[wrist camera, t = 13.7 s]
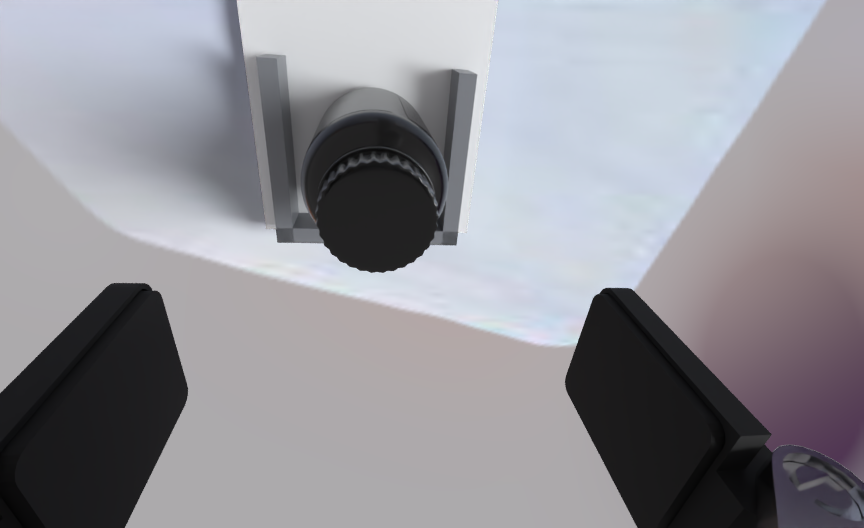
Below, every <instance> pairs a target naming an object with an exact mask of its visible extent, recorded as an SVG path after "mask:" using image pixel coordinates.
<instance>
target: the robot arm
mask: <svg viewBox="0 0 864 528" xmlns="http://www.w3.org/2000/svg"><path fill="white" fill-rule="evenodd" d="M565 385H566V390H567V393H568V395H569V397H570V399H571V401H572V402H573V404H574V406H575V408H576V410H577V412H578V414H579V416H580V418H581V420H582V422H583V424H584V425H585V428H586V429H587V431H588V433H589V435H590V437H591V439H592V441H593V443H594V445H595V447H596V449H597V451H598V453H599V454H600V456H601V458H602V460H603V462H604V464H605V466H606V468H607V470H608V472H609V474H610V476H611V478H612V479H613V481H614V483H615V485H616V487H617V489H618V491H619V493H620V495H621V497H622V499H623V501H624V503H625V504H626V506H627V508H628V510H629V512H630V514H631V516H632V518H633V520H634V522H635V524H636V525H637V527H638V528H864V483H863V482H862V481H861V480H860V479H859V478H858V477H857V476H855V475H854V474H853V473H852V472H851V471H849V470H848V469H846V468H845V467H844V466H842V465H841V464H839V463H838V462H836V461H835V460H833V459H831V458H829V457H827V456H825V455H823V454H821V453H819V452H816V451H814V450H811V449H808V448H805V447H802V446H794V445H784V446H779V447H778V448H777V449H776V450H774V451H773V452H771V451H770V450H769V449H768V448H767V447H766V446H765V445H764V444H765V443H766V441H767V440H768V439H769V438H770V436H771V433H770V432H769V431H768V430H767V429H766V428H765V427H764V426H763V425H762V424H761V423H760V422H759V421H758V420H757V419H756V418H755V417H754V416H753V415H752V414H751V413H750V412H749V411H748V409H747V408H746V407H745V406H744V405H743V404H742V403H741V402H740V401H739V400H738V399H737V398H736V397H735V396H734V395H733V394H732V393H731V392H730V391H729V390H728V389H727V388H726V387H725V386H724V385H723V383H722V382H721V381H720V380H719V379H718V378H717V377H716V376H715V375H714V374H713V373H712V372H711V371H710V370H709V369H708V368H707V367H706V366H705V365H704V364H703V363H702V361H701V360H700V359H699V358H698V357H697V356H696V355H694V353H693V352H692V351H691V350H690V349H689V348H688V347H687V346H686V345H685V344H684V343H683V342H682V341H681V340H680V339H679V338H678V337H677V335H676V334H675V333H674V332H673V331H672V330H671V329H670V328H669V327H668V326H667V325H666V324H665V323H664V322H663V321H662V320H661V319H660V318H659V317H658V316H657V315H656V314H655V313H654V312H653V310H652V309H651V308H650V307H649V306H648V305H647V304H646V303H645V302H644V301H643V300H642V299H641V298H640V297H639V296H638V295H637V294H636V293H635V292H634V291H633V290H632V289H629V288H605V289H603V290H602V291H601V292H600V294H597V295H596V296H595V297H594V298H593V300H592V303H591V306H590V309H589V312H588V315H587V318H586V320H585V323H584V326H583V329H582V332H581V335H580V338H579V340H578V343H577V346H576V349H575V352H574V355H573V358H572V360H571V363H570V366H569V369H568V372H567V375H566V379H565ZM187 396H188V387H187V383H186V379H185V376H184V373H183V369H182V366H181V362H180V358H179V355H178V351H177V348H176V344H175V341H174V337H173V334H172V330H171V327H170V323H169V320H168V316H167V313H166V310H165V306H164V303H163V299H162V297H161V294H160V293H159V292H158V291H152V288H151V287H150V286H149V285H147V284H145V283H114V284H110V285H109V286H107V287H106V288H105V289H104V290H103V291H102V292H101V293H100V294H99V295H98V296H97V297H96V298H95V299H94V300H93V301H92V302H91V303H90V304H89V305H88V306H87V307H86V308H85V309H84V310H83V311H82V312H81V313H80V314H79V316H77V317H76V318H75V319H74V320H73V321H72V322H71V323H70V324H69V325H68V326H67V327H66V328H65V329H64V330H63V331H62V332H61V333H60V334H59V335H58V336H57V337H56V338H55V339H54V340H53V341H52V342H51V343H50V344H49V345H48V346H47V347H46V348H45V349H44V350H43V351H42V352H41V353H40V354H39V355H38V356H37V357H36V358H35V359H34V360H33V361H32V362H31V363H30V364H29V365H28V366H27V367H26V368H25V369H24V370H23V371H22V372H21V373H20V375H18V376H17V377H16V378H15V379H14V380H13V381H12V382H11V383H10V384H9V385H8V386H7V387H6V388H5V389H4V390H3V391H2V392H1V393H0V528H125V526H126V524H127V522H128V520H129V518H130V516H131V514H132V512H133V510H134V508H135V505H136V504H137V502H138V499H139V497H140V495H141V493H142V491H143V489H144V487H145V485H146V483H147V481H148V479H149V477H150V475H151V473H152V471H153V469H154V467H155V465H156V463H157V461H158V459H159V457H160V455H161V453H162V450H163V448H164V446H165V444H166V442H167V440H168V438H169V436H170V434H171V432H172V430H173V428H174V426H175V424H176V422H177V420H178V418H179V416H180V414H181V412H182V410H183V408H184V406H185V403H186V400H187Z"/></svg>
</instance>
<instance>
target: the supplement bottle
mask: <svg viewBox="0 0 864 528" xmlns="http://www.w3.org/2000/svg"><path fill="white" fill-rule="evenodd" d="M301 192H302V197H303V200H304V203H305V206H306V209H307V211H308V213H309V215H310V216H311V218H312V220H313V221H314V222H315V224H316V225H317V227H318V229H319V236H320V237H321V238H322V239H323V240H324V246H326V247H327V248H328V249H330V252H331V254H332V255H334V256H336V257H337V258H338V259H339V261H340V262H343V263H346V264H347V265H348V266H349V267H354V268H357V269H358V270H360V271H369V272H371V273H373V272H381V273H384V272H386V271H394V270H396V269H397V268H403V267H405V266H406V265H407V264H409V263H412V262H414V261H415V260H416V258H418V257H420V256H422V255H423V253H424V250H426V249H427V248H429V246H430V242H431V241H432V240H433V239H434V237H435V231H436V230H437V228H438V225H437V220H438V218H439V217H440V215H441V213H442V211H443V208H444V206H445V202H446V198H447V192H448V175H447V169H446V165H445V162H444V159H443V156H442V154H441V152H440V150H439V148H438V146H437V144H436V142H435V141H434V139H433V137H432V136H431V134H430V132H429V130H428V129H427V127H426V125H425V124H424V122H423V120H422V119H421V117H420V115H419V114H418V113H417V111H416V110H415V109H414V107H413V106H412V105H411V104H410V103H409V102H407V101H406V100H405V99H404V98H402V97H401V96H399V95H397V94H396V93H393V92H391V91H388V90H386V89H381V88H375V87H367V88H359V89H355V90H352V91H350V92H347V93H345V94H344V95H342V96H340V97H339V98H338V99H336V100H335V101H334V102H333V103H332V104H331V105H330V106H329V107H328V109H327V110H326V112H325V113H324V115H323V117H322V119H321V121H320V123H319V125H318V127H317V129H316V132H315V134H314V136H313V138H312V141H311V143H310V145H309V147H308V150H307V152H306V154H305V157H304V160H303V165H302V170H301Z"/></svg>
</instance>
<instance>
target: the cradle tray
mask: <svg viewBox="0 0 864 528" xmlns="http://www.w3.org/2000/svg"><path fill="white" fill-rule="evenodd" d="M497 6H498V0H237V7H238V15H239V22H240V30H241V38H242V46H243V54H244V61H245V69H246V77H247V85H248V92H249V100H250V108H251V116H252V123H253V131H254V139H255V147H256V154H257V162H258V170H259V178H260V186H261V193H262V201H263V209H264V217H265V224H266V229H276V234H277V242H279V243H324V240H323V239H322V238H321V237H320V236H319V229H318V227H317V225H316V224H315V222H314V221H313V220H312V218H311V216H310V215H309V213H308V211H307V209H306V206H305V203H304V200H303V197H302V192H301V170H302V165H303V160H304V157H305V154H306V152H307V150H308V147H309V145H310V143H311V141H312V138H313V136H314V134H315V132H316V129H317V127H318V125H319V123H320V121H321V119H322V117H323V115H324V113H325V112H326V110H327V109H328V107H329V106H330V105H331V104H332V103H333V102H334V101H335V100H336V99H338V98H339V97H340V96H342V95H344V94H345V93H347V92H350V91H352V90H355V89H359V88H367V87H375V88H381V89H386V90H388V91H391V92H393V93H396V94H397V95H399V96H401V97H402V98H404V99H405V100H406V101H407V102H409V103H410V104H411V105H412V106H413V107H414V109H415V110H416V111H417V113H418V114H419V115H420V117H421V119H422V120H423V122H424V124H425V125H426V127H427V129H428V130H429V132H430V134H431V136H432V137H433V139H434V141H435V142H436V144H437V146H438V148H439V150H440V152H441V154H442V156H443V159H444V162H445V165H446V169H447V175H448V192H447V198H446V202H445V206H444V208H443V211H442V213H441V215H440V217H439V218H438V220H437V225H438V228H437V230H436V231H435V237H434V239H433V240H432V241H431V242H430V245H456V244H457V236H458V233H467V227H468V220H469V213H470V205H471V198H472V190H473V183H474V176H475V168H476V161H477V153H478V146H479V139H480V131H481V124H482V117H483V109H484V102H485V94H486V87H487V80H488V72H489V65H490V57H491V50H492V43H493V35H494V28H495V20H496V13H497Z"/></svg>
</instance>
